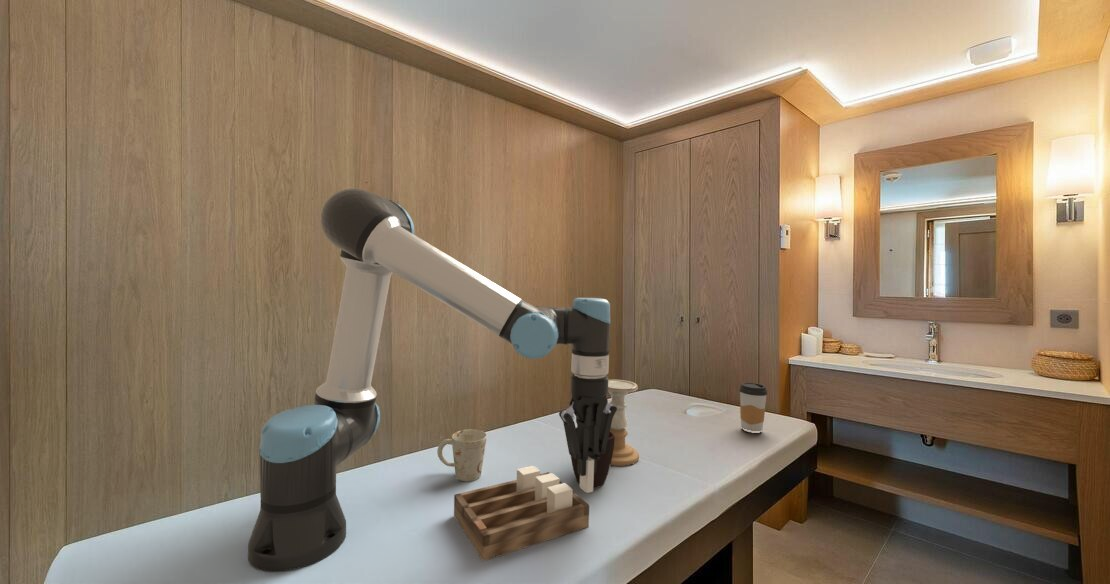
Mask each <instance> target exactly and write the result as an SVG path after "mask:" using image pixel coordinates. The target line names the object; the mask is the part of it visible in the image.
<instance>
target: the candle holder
mask: <svg viewBox="0 0 1110 584" xmlns="http://www.w3.org/2000/svg"><path fill="white" fill-rule="evenodd" d="M638 388H639V385H638V384H637V383H635V382H634V381H630V380H623V379H608V393H609V395H610V397H611V401H609V402H608V403H609V404H611V405H613V406H616V407H617V411H616V412H615V414H614V416H613V419H612V423H611V428H610V431H611V432H612V433H613V434H614V436H615V442H614V450H613V456H612V460H611V464H610V466H613V467H614V466H615V467H616V466H617V467H626V466H625V465H627V466H631V465H630V464H632V465H634V464H636V463H637V462H638V461H639V459H640V453H639V451H638V450H636V449H635V448H634V447H632V446H631V445H630V444H628V443H626V437H627V436H628V434H629V433H628V430H627V429H626V427H627V426H628V419H627V416H626V409H627V407H628V404H627V403H626V401H625V398H626V396H627V395H628V394H629V393H633V392H635V391H637V390H638ZM635 462H636V463H635ZM633 463H634V464H633Z"/></svg>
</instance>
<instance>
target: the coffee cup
mask: <svg viewBox="0 0 1110 584" xmlns="http://www.w3.org/2000/svg"><path fill="white" fill-rule="evenodd" d="M740 385H741V386H740V387H739V398H740V399H739V400H740V404H739V407H740V408H739V411H740V413H739V414H740V428H741V427H742V428H744V429H747V430H751V431H761V430H762V431H763V429H764V428H763V427H764V421H765V412H766V404H767V403H766V401H767V395H768V389H767V387H766V385H764V384H762V383H756V382H742V383H741V384H740ZM742 428H741V429H742Z"/></svg>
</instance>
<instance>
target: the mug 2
mask: <svg viewBox="0 0 1110 584" xmlns="http://www.w3.org/2000/svg"><path fill="white" fill-rule="evenodd" d="M575 427H576V433H577V426H575ZM614 442H615V436H614V434H613V433H612V432H611V431H610V433H609V437H608V442H607V446H606V451H605V453H604V454H602V453H601V454H599V456H601V457H600V459H599V460H597V469H596V473H594V481H593V489H596V488H600V487H602V486H604V485H605V482H606V481H607V477H608V474H609V471H610V468H611V465H610V464H611V460H612V456H613V450H614ZM600 446H601V445H600ZM570 460H571V466H572V470H573V474H574V477H575V478H574V479H575V480H576V483H577V484H578V485H579V486H580V475H579V474H578V472H577V467H578V466H577V464H578V460H577V459H575V458H574V457H572V456H571V455H570Z"/></svg>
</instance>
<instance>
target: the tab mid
mask: <svg viewBox="0 0 1110 584" xmlns="http://www.w3.org/2000/svg"><path fill="white" fill-rule="evenodd" d="M549 473H550V474H546V475H541V476H537V477H535V501H539V500H543V499H546V498H547V487H550V486H554V485H558V484H559V481H560V478H559V477H558V476H557V475H555V474H554V473H553V472H549Z"/></svg>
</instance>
